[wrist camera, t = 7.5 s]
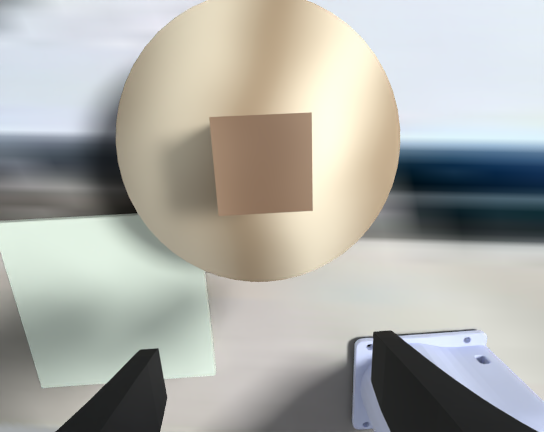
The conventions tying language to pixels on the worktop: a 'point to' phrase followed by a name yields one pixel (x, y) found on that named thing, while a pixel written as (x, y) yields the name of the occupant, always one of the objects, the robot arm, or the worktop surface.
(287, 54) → the lid
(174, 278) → the mat
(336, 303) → the worktop surface
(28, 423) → the worktop surface
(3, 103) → the worktop surface
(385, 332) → the robot arm
